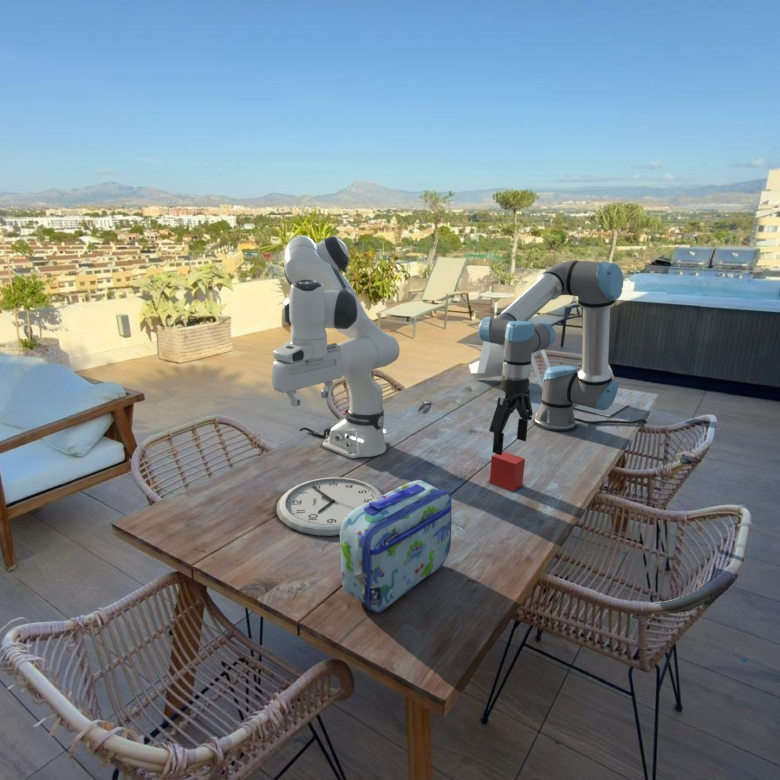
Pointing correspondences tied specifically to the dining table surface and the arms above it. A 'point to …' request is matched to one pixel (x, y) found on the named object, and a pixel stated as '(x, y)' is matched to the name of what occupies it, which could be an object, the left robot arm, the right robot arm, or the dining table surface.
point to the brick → (507, 470)
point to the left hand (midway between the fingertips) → (310, 401)
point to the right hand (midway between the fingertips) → (509, 446)
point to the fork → (425, 403)
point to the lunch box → (394, 543)
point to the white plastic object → (500, 362)
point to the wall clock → (323, 504)
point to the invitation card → (608, 412)
